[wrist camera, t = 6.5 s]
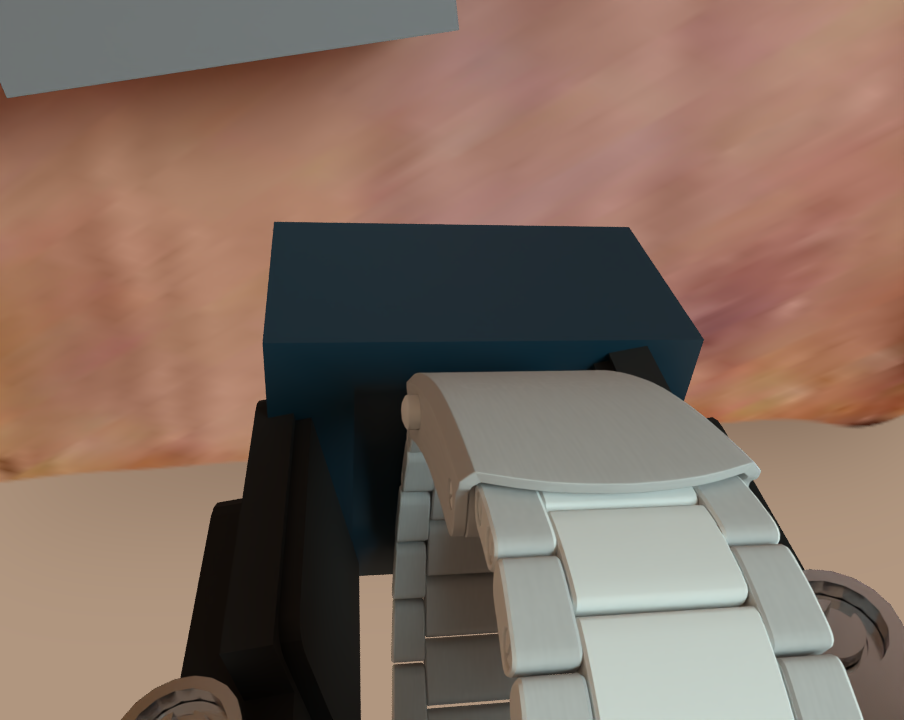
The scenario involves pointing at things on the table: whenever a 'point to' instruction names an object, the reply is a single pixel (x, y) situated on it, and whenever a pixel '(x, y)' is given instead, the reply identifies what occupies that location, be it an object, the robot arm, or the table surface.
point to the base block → (188, 35)
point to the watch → (539, 478)
